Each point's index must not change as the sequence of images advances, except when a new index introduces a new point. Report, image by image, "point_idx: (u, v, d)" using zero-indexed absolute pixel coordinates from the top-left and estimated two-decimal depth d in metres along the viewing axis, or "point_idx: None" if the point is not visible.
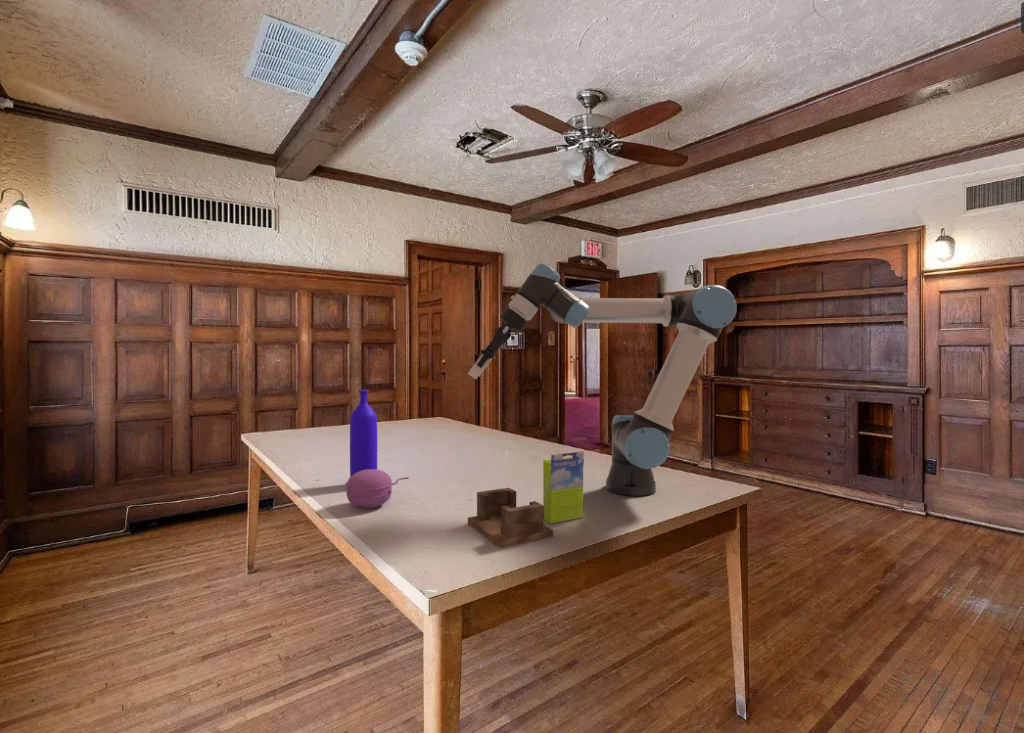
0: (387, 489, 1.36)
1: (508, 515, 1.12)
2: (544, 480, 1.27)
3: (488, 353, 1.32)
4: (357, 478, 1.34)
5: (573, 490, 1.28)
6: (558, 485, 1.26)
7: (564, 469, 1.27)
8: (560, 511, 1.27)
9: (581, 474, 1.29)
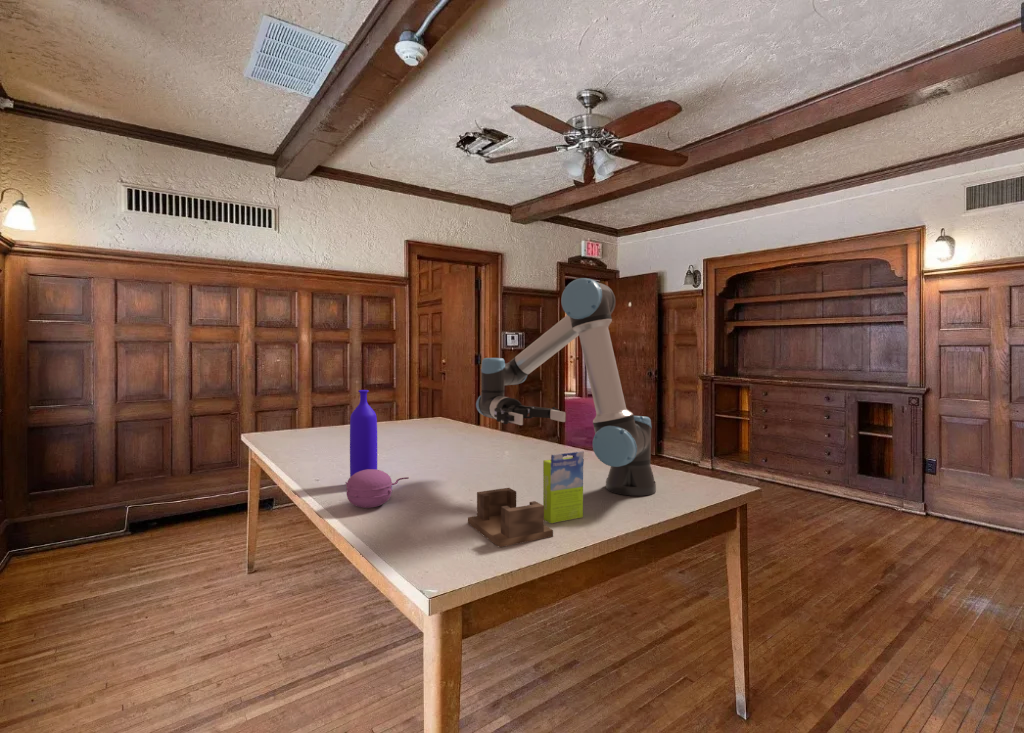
0: (387, 489, 1.36)
1: (508, 515, 1.12)
2: (544, 480, 1.27)
3: (497, 416, 1.39)
4: (357, 478, 1.34)
5: (573, 490, 1.28)
6: (558, 485, 1.26)
7: (564, 469, 1.27)
8: (560, 511, 1.27)
9: (581, 474, 1.29)
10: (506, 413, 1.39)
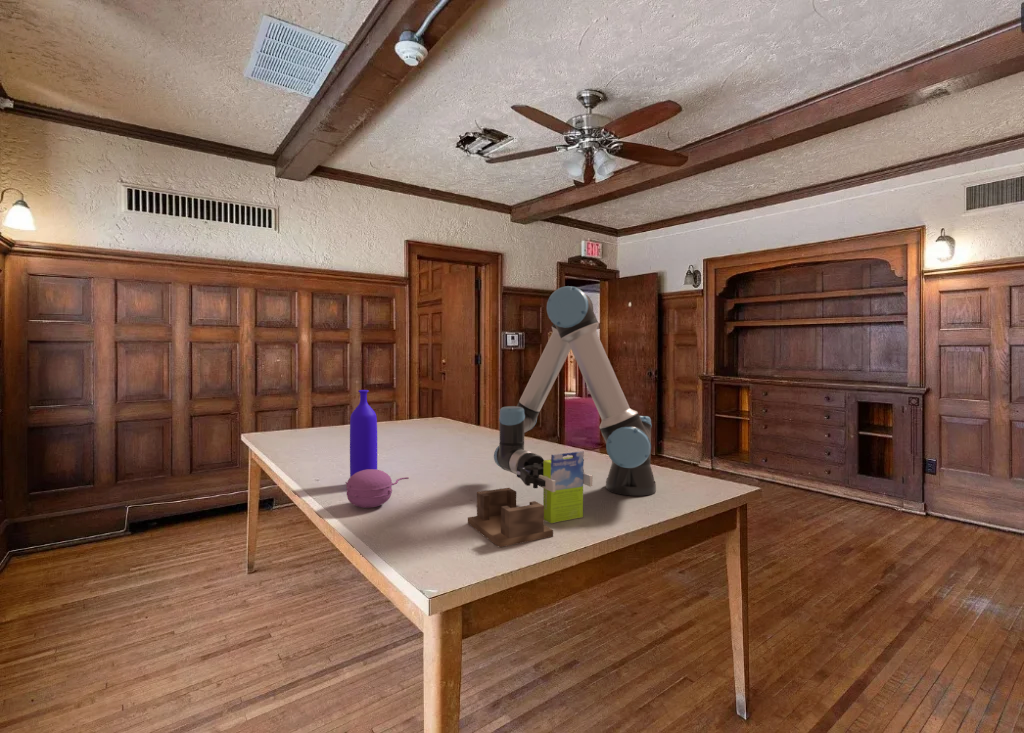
0: (387, 489, 1.36)
1: (508, 515, 1.12)
2: None
3: (526, 480, 1.28)
4: (357, 478, 1.34)
5: (573, 490, 1.28)
6: (558, 485, 1.26)
7: (564, 469, 1.27)
8: (560, 511, 1.27)
9: (581, 473, 1.29)
10: (536, 476, 1.28)
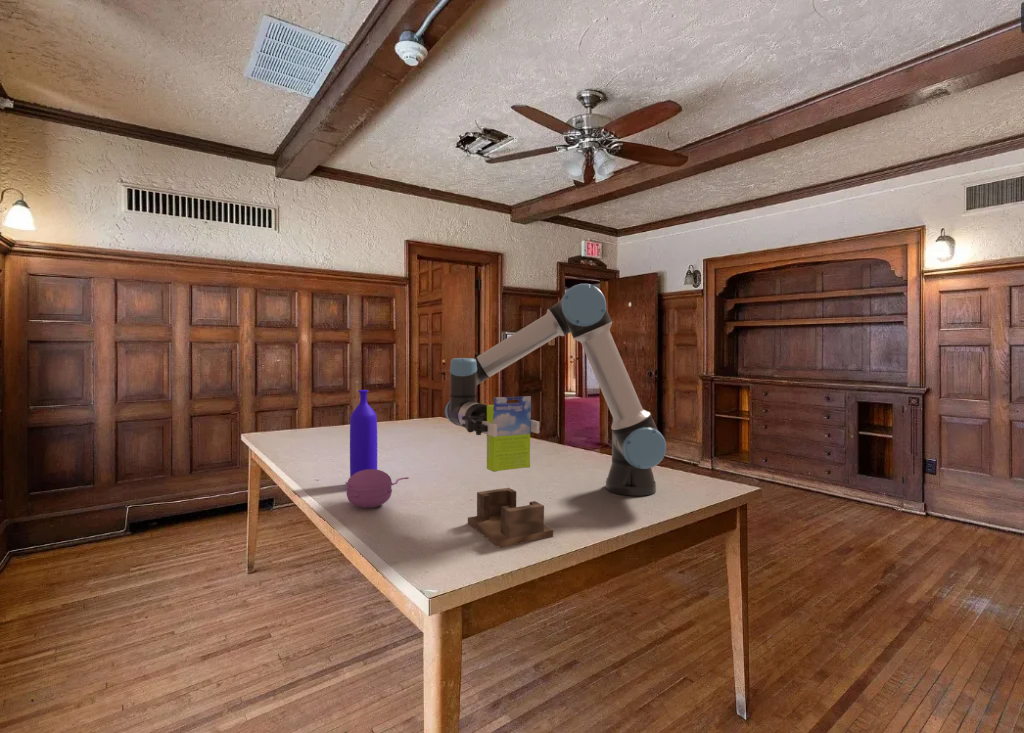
0: (387, 489, 1.36)
1: (508, 515, 1.12)
2: None
3: (468, 426, 1.19)
4: (357, 478, 1.34)
5: (519, 438, 1.20)
6: (501, 431, 1.18)
7: (508, 414, 1.18)
8: (504, 459, 1.18)
9: (528, 420, 1.21)
10: (479, 422, 1.19)
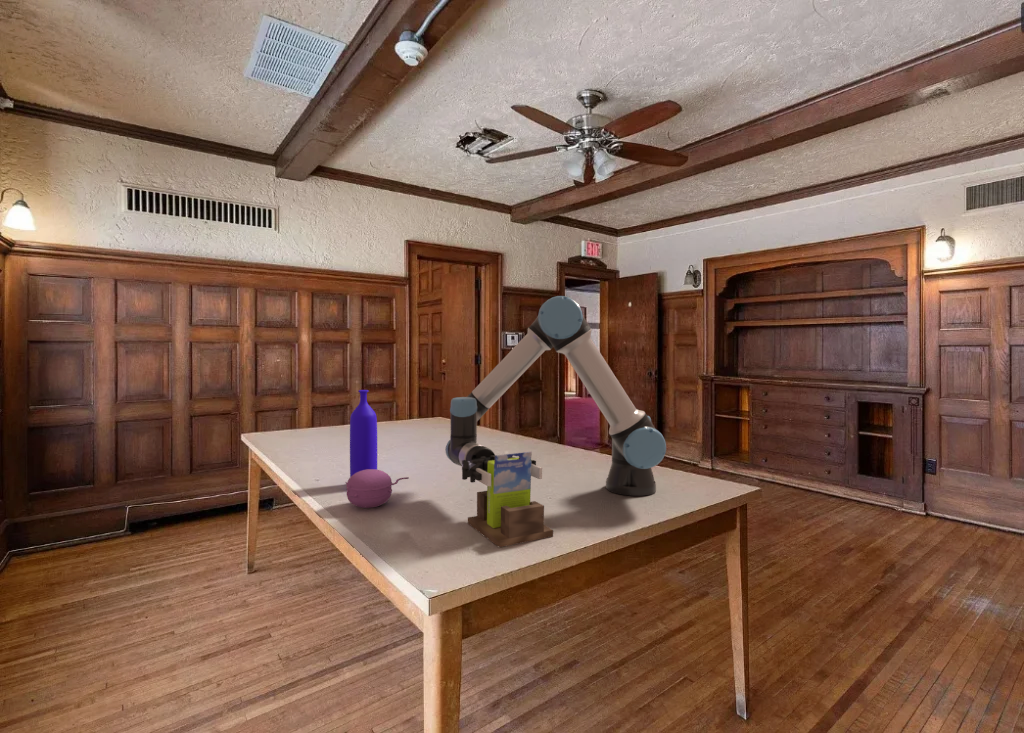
0: (387, 489, 1.36)
1: (508, 515, 1.12)
2: None
3: (462, 473, 1.20)
4: (357, 478, 1.34)
5: (519, 493, 1.20)
6: (502, 488, 1.18)
7: (509, 471, 1.18)
8: None
9: (528, 475, 1.21)
10: (473, 470, 1.20)
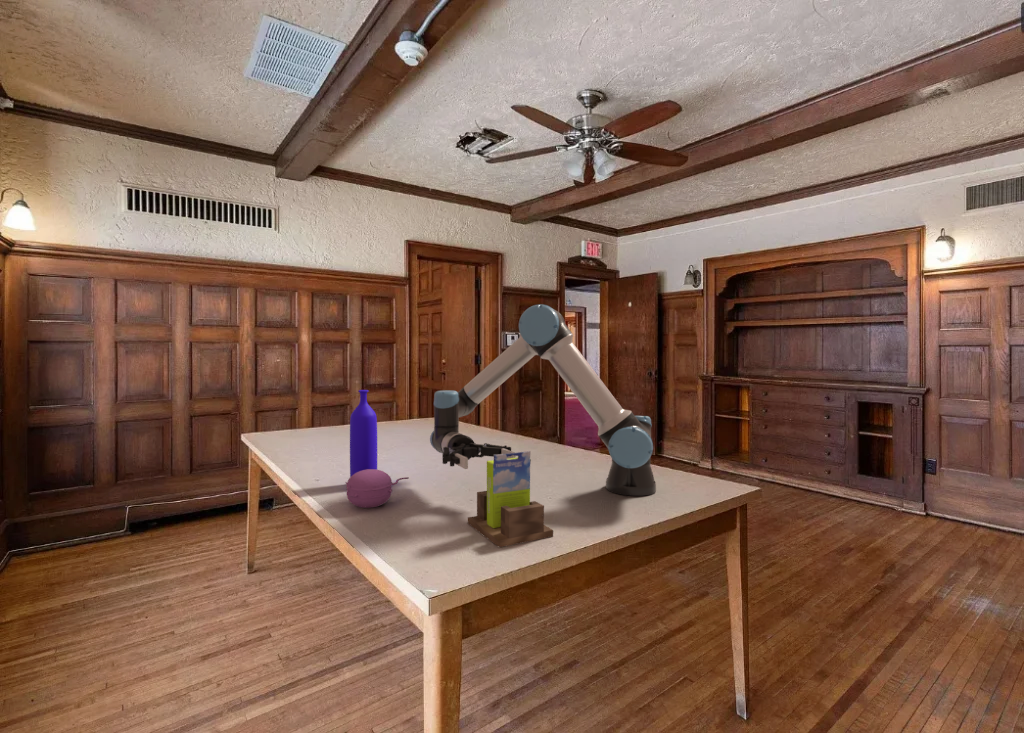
0: (387, 489, 1.36)
1: (508, 515, 1.12)
2: (487, 482, 1.19)
3: (443, 458, 1.32)
4: (357, 478, 1.34)
5: (519, 493, 1.20)
6: (501, 487, 1.18)
7: (508, 471, 1.19)
8: None
9: (527, 475, 1.21)
10: (452, 455, 1.32)
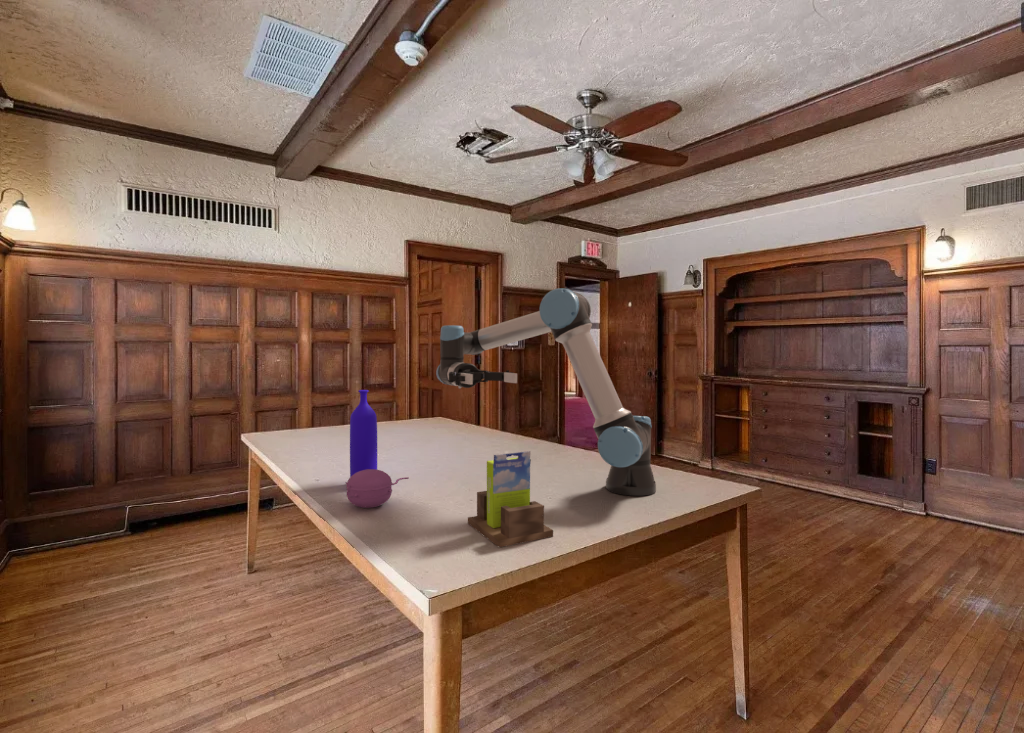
0: (387, 489, 1.36)
1: (508, 515, 1.12)
2: (487, 482, 1.19)
3: (449, 377, 1.40)
4: (357, 478, 1.34)
5: (519, 493, 1.20)
6: (501, 488, 1.18)
7: (508, 471, 1.19)
8: None
9: (527, 475, 1.21)
10: (458, 374, 1.40)
